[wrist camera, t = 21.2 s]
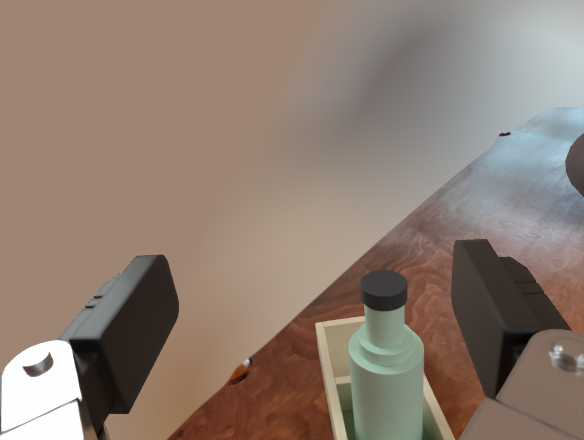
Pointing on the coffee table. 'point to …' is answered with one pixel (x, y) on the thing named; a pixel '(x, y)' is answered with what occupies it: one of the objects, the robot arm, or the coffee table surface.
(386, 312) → the bottle
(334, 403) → the cream rectangular tray
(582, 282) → the coffee table surface
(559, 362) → the robot arm
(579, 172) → the flattened ellipsoid
